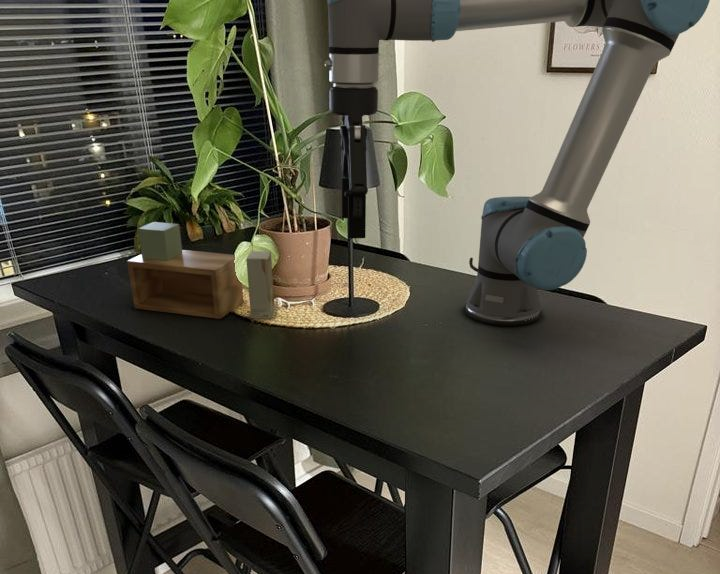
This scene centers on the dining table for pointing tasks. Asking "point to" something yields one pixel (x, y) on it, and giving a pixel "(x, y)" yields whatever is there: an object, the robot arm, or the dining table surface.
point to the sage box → (160, 241)
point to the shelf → (186, 284)
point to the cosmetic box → (260, 284)
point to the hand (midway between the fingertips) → (353, 227)
